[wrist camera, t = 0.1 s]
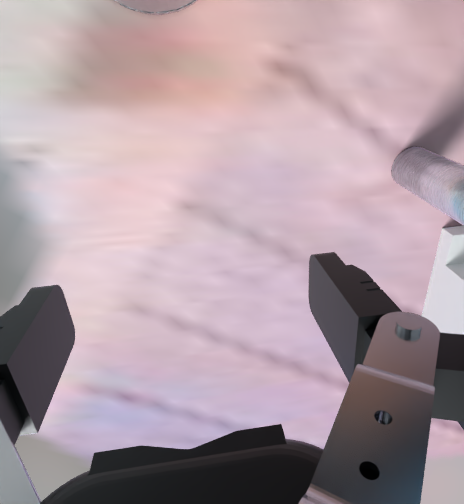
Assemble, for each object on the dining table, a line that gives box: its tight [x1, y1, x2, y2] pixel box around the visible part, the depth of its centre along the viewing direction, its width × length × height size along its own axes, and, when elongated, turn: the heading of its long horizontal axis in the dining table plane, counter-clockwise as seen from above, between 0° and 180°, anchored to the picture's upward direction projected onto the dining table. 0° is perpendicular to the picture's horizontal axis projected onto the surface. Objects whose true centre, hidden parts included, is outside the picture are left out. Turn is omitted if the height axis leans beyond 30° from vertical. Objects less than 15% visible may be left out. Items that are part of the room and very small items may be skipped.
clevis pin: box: [391, 146, 464, 225], centre depth 24 cm, size 4×4×12 cm
